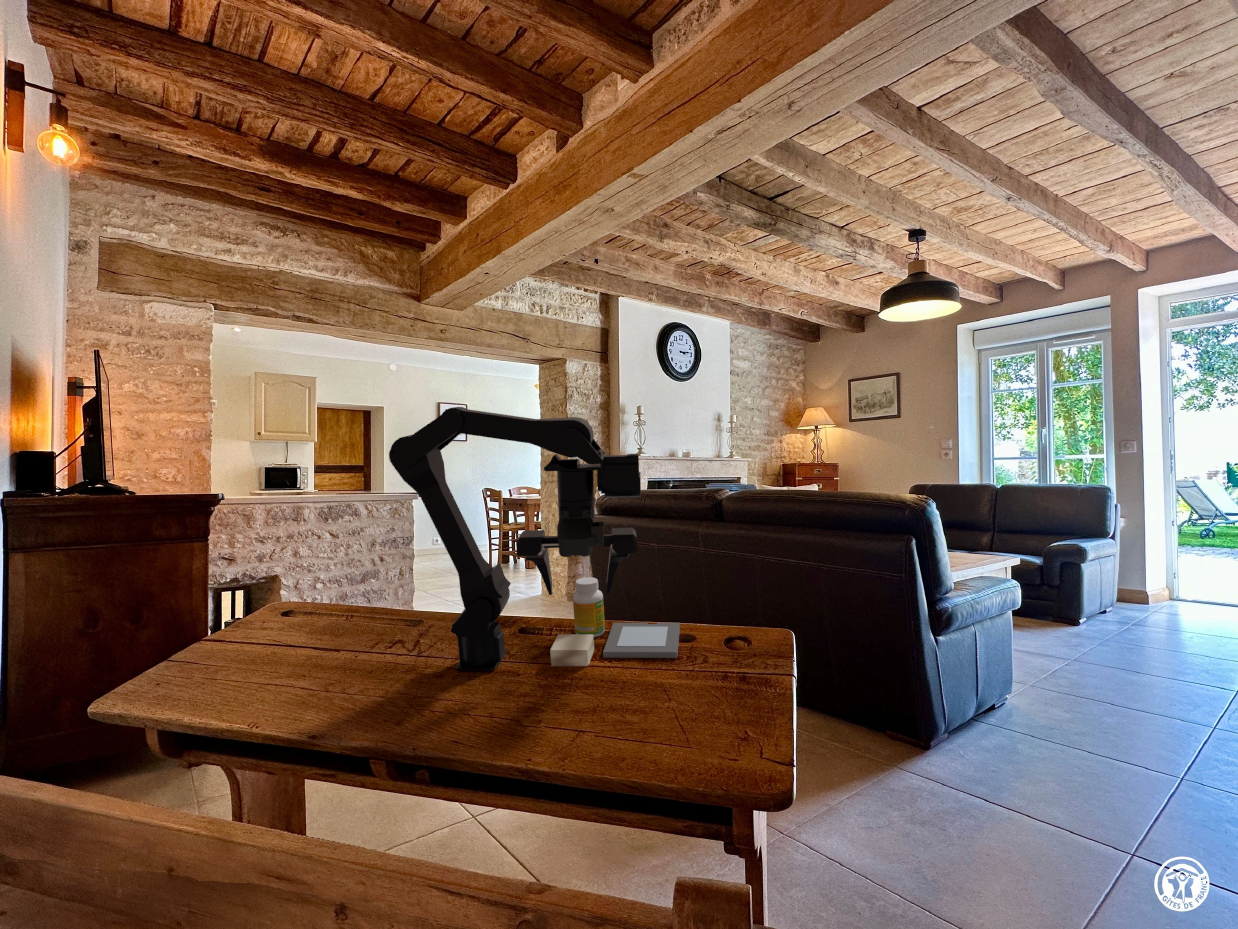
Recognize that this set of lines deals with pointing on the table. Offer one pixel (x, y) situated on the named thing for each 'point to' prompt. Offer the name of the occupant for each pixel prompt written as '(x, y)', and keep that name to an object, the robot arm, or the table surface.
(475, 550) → the robot arm
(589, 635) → the birch block
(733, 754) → the table surface
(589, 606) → the supplement bottle
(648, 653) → the baseplate
